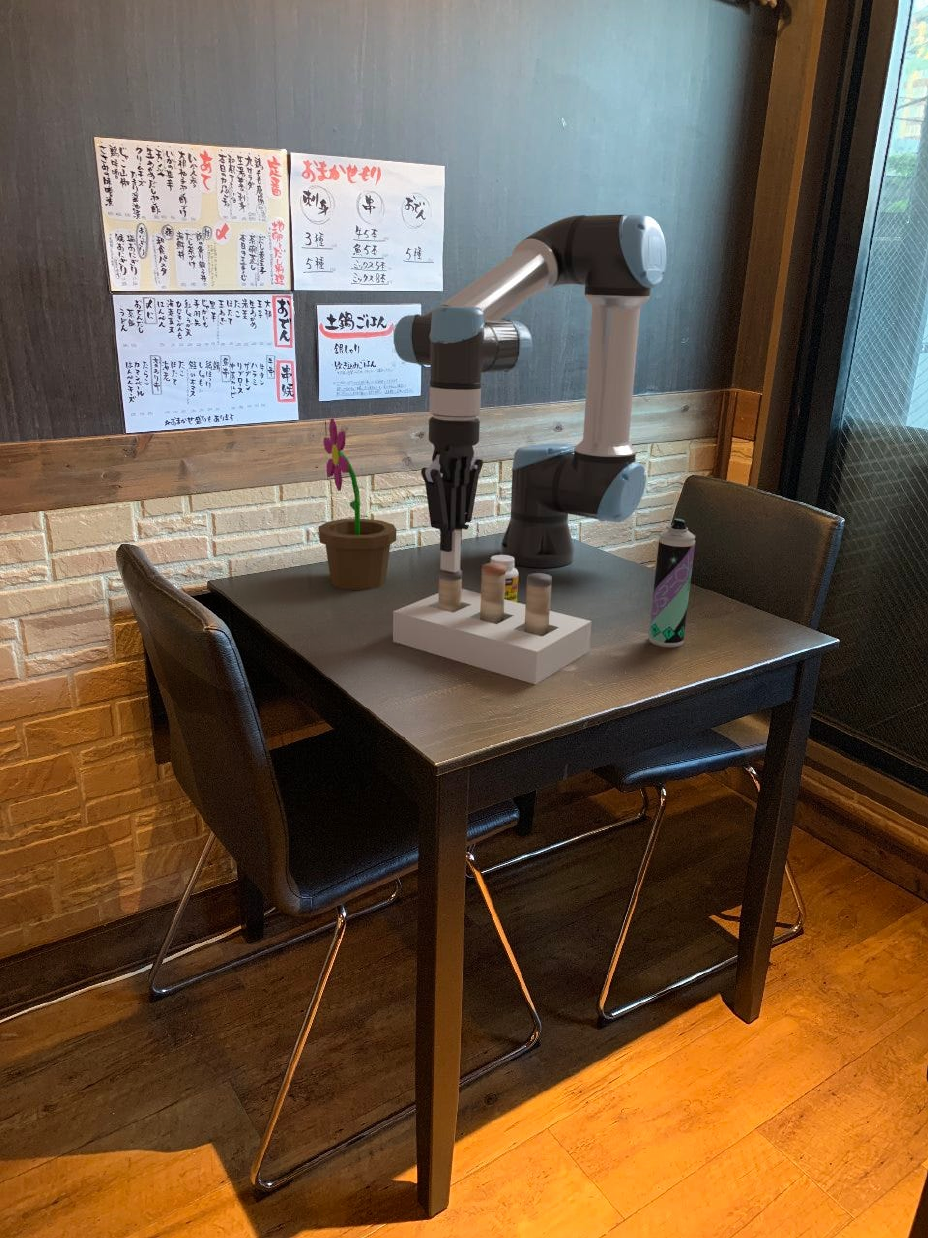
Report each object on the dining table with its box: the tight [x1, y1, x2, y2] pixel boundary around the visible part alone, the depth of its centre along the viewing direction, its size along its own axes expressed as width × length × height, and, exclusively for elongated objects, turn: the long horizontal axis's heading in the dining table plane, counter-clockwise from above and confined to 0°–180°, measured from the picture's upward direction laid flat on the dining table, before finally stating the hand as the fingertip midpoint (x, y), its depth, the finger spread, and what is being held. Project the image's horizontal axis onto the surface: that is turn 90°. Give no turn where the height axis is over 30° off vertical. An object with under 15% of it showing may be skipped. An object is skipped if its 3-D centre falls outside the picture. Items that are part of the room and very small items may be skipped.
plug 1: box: [438, 569, 463, 613], centre depth 147 cm, size 4×4×9 cm
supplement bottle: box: [490, 554, 519, 603], centre depth 156 cm, size 6×6×10 cm
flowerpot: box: [318, 417, 397, 591], centre depth 168 cm, size 14×14×30 cm
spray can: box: [648, 517, 696, 648], centre depth 146 cm, size 6×6×20 cm
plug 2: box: [480, 562, 506, 624], centre depth 142 cm, size 4×4×9 cm
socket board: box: [392, 588, 593, 685], centre depth 144 cm, size 16×26×5 cm, turn 55°
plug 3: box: [524, 572, 553, 637], centre depth 137 cm, size 4×4×9 cm
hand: (450, 569), depth 145 cm, fingers closed
